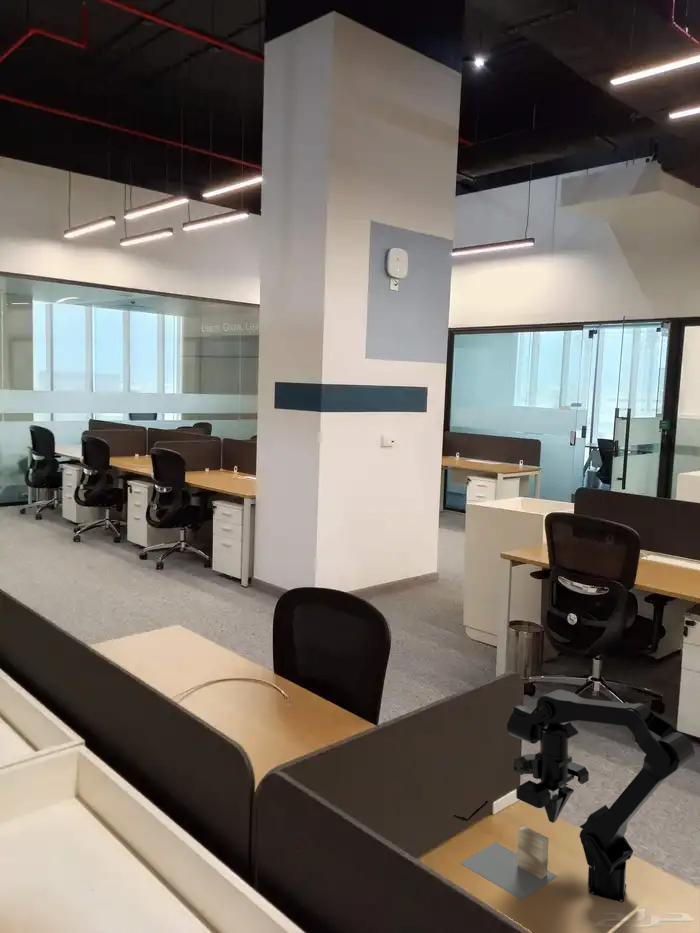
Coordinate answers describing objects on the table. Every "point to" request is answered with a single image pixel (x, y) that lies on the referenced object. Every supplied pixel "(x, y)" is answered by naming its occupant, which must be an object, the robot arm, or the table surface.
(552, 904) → the table surface
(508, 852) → the mat
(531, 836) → the tile
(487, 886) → the table surface
